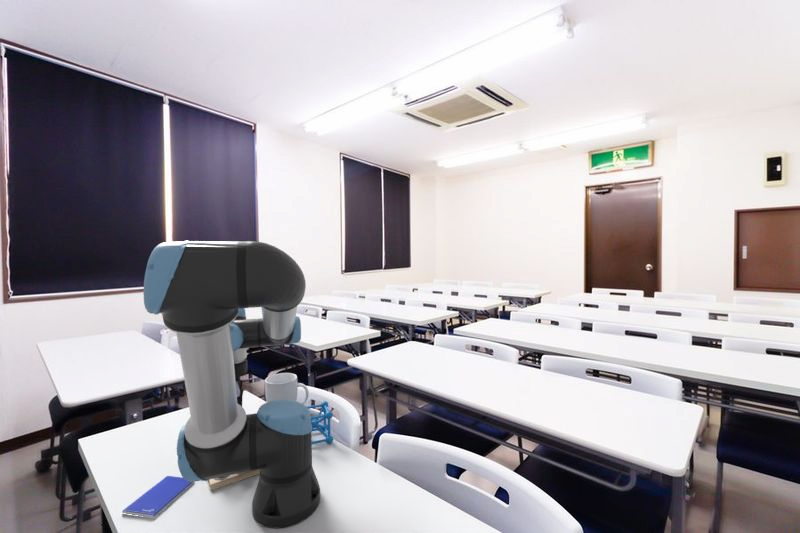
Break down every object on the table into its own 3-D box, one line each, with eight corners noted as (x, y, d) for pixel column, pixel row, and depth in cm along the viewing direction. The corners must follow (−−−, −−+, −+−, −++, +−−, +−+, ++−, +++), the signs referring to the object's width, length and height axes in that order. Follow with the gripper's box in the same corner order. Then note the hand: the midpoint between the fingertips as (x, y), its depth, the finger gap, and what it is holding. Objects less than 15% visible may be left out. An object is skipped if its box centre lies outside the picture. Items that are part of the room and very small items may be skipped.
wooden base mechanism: (261, 472, 95) (260, 449, 95) (210, 490, 88) (209, 466, 88) (242, 435, 114) (241, 416, 114) (199, 448, 107) (198, 427, 107)
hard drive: (153, 514, 79) (194, 478, 91) (122, 509, 81) (166, 475, 93) (154, 521, 79) (194, 484, 92) (122, 516, 81) (166, 481, 93)
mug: (309, 404, 136) (308, 370, 136) (308, 417, 126) (307, 381, 125) (268, 408, 133) (267, 374, 132) (263, 422, 122) (262, 385, 122)
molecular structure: (333, 444, 109) (333, 412, 108) (300, 451, 105) (299, 418, 105) (328, 428, 118) (327, 399, 118) (296, 434, 114) (296, 404, 114)
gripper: (252, 363, 100) (254, 445, 101) (241, 352, 111) (244, 427, 112) (222, 369, 96) (225, 454, 97) (214, 357, 107) (217, 434, 108)
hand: (235, 439), depth 105 cm, fingers closed
